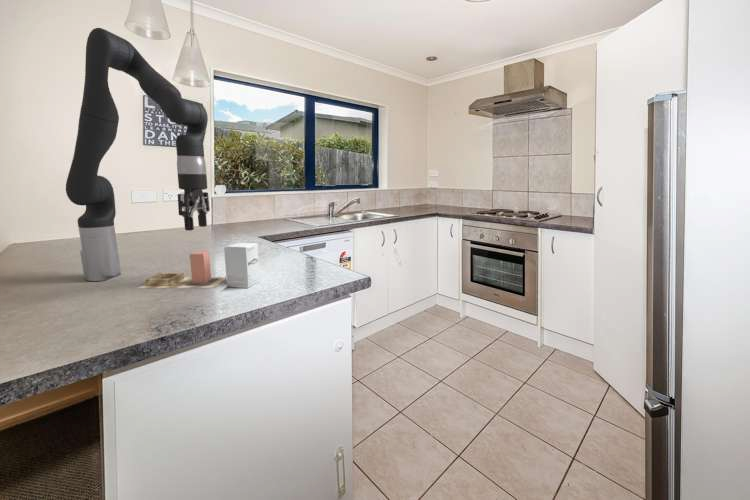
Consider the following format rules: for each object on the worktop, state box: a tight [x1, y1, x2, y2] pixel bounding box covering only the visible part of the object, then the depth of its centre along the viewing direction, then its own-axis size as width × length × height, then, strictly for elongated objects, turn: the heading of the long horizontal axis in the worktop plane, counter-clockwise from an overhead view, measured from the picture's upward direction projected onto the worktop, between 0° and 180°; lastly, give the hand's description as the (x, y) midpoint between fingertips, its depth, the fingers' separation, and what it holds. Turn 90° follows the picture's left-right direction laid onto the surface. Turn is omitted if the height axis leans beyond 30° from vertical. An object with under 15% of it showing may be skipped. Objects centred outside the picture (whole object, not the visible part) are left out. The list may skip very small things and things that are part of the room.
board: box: [137, 272, 226, 289], centre depth 111 cm, size 22×11×3 cm, turn 92°
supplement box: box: [223, 242, 261, 289], centre depth 111 cm, size 7×7×13 cm
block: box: [189, 250, 212, 283], centre depth 110 cm, size 4×4×9 cm
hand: (196, 228), depth 108 cm, fingers open, 8 cm apart
